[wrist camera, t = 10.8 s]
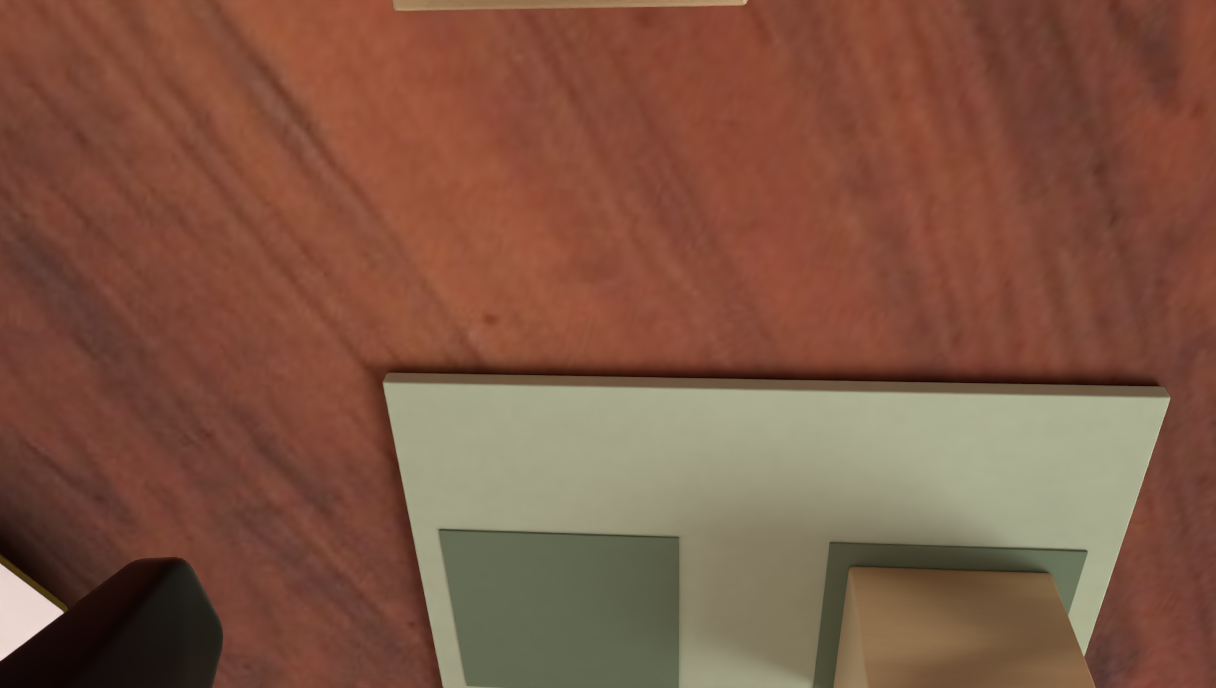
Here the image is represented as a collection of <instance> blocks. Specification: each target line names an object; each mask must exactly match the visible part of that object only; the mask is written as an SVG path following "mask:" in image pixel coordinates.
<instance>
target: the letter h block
mask: <svg viewBox="0 0 1216 688" xmlns="http://www.w3.org/2000/svg"><path fill="white" fill-rule="evenodd" d="M833 688H1096V687H1095V685H1094V682H1093V679H1092V677H1091V674H1090V672H1089V669H1088V666H1087V664H1086V661H1085V659H1084V656H1083V654H1082V651H1081V648H1080V646H1079V643H1078V641H1077V638H1076V635H1075V633H1074V630H1073V628H1072V625H1071V622H1070V620H1069V617H1068V615H1067V612H1066V609H1065V607H1064V604H1063V602H1062V599H1061V596H1060V594H1059V591H1058V589H1057V586H1056V583H1055V581H1054V578H1053V576H1052V574H1050V573H1034V572H1005V571H976V570H948V569H919V568H891V567H862V566H852V567H850V568H849V572H848V580H847V587H846V595H845V602H844V610H843V618H842V625H841V633H840V641H839V648H838V656H837V663H836V671H835V679H834V686H833Z"/></svg>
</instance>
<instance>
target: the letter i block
mask: <svg viewBox="0 0 1216 688" xmlns="http://www.w3.org/2000/svg"><path fill="white" fill-rule="evenodd" d="M747 1H748V0H392V5H393V7H394V10H397V11H434V10H496V9H557V8H618V7H679V6H740V5H745V4H746V3H747Z"/></svg>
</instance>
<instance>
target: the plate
mask: <svg viewBox="0 0 1216 688" xmlns="http://www.w3.org/2000/svg"><path fill="white" fill-rule="evenodd" d="M67 610H68V608H67V607H66V605H65V604H64V603H63V602H62V601H61V600H60V599H58V598H57V597H56V596H54V595H53V594H52V593H51V592H49V591H48V590H47V589H45V588H44V587H43V586H41V585H40V584H39V583H38V582H36V581H35V580H34V579H32V578H31V577H30V576H28V575H27V574H26V573H25V572H23V571H22V570H21V569H19V568H18V567H17V566H16V565H14V564H13V563H12V562H10V561H9V560H8V559H6V558H5V557H4V556H3V555H1V554H0V661H1V660H2V659H4V658H5V657H6V656H8V655H9V654H10V653H12V652H13V651H14V650H16V649H17V648H18V647H20V646H21V645H22V644H23V643H25V642H26V641H27V640H29V639H30V638H31V637H33V636H34V635H35V634H37V633H38V632H39V631H41V630H42V629H43V628H45V627H46V626H47V625H48V624H50V623H51V622H52V621H54V620H55V619H56V618H58V617H59V616H60V615H62V614H63V613H64V612H66V611H67Z"/></svg>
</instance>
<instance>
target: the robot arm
mask: <svg viewBox="0 0 1216 688" xmlns="http://www.w3.org/2000/svg"><path fill="white" fill-rule="evenodd" d="M222 642H223V632H222V626H221V622H220V619H219V617H218V615H217V613H216V611H215V609H214V607H213V605H212V604H211V602H210V600H209V598H208V596H207V594H206V592H205V590H204V589H203V587H202V585H201V583H200V581H199V579H198V577H197V575H196V574H195V572H194V570H193V568H192V567H191V565H190V564H189V563H188V562H186V561H185V560H183V559H182V558H177V557H166V558H147V559H140V560H135V561H133V562H131V563H129V564H128V565H126V566H125V567H124V568H122V569H121V570H120V571H118V572H117V573H116V574H114V575H113V576H112V577H110V578H109V579H108V580H106V581H105V582H104V583H102V584H101V585H100V586H99V587H97V588H96V589H95V590H93V591H92V592H91V593H89V594H88V595H87V596H85V597H84V598H83V599H81V600H80V601H79V602H77V603H76V604H75V605H74V606H72V607H71V608H70V609H68V610H67V611H66V612H64V613H63V614H62V615H60V616H59V617H58V618H56V619H55V620H54V621H52V622H51V623H50V624H48V625H47V626H46V627H45V628H43V629H42V630H41V631H39V632H38V633H37V634H35V635H34V636H33V637H31V638H30V639H29V640H27V641H26V642H25V643H23V644H22V645H21V646H20V647H18V648H17V649H16V650H14V651H13V652H12V653H10V654H9V655H8V656H6V657H5V658H4V659H2V660H1V661H0V688H212V686H213V682H214V678H215V674H216V670H217V666H218V662H219V659H220V655H221V650H222Z"/></svg>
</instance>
